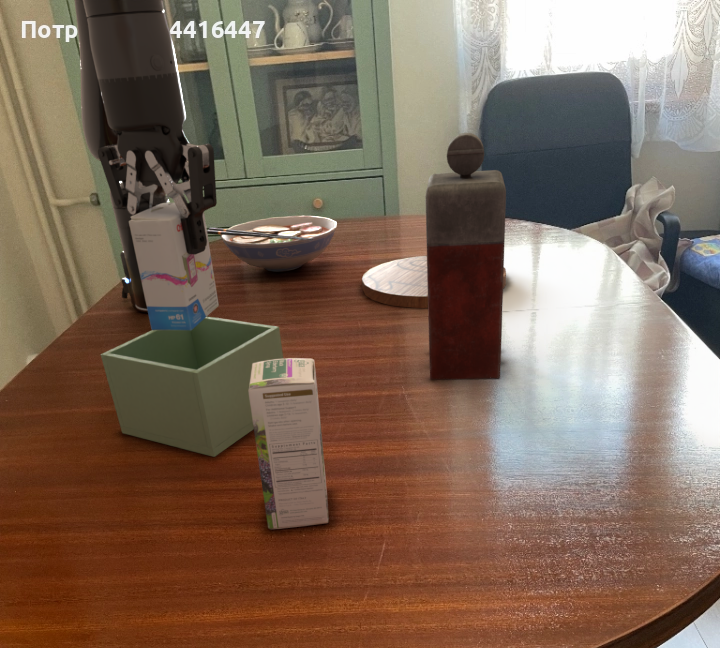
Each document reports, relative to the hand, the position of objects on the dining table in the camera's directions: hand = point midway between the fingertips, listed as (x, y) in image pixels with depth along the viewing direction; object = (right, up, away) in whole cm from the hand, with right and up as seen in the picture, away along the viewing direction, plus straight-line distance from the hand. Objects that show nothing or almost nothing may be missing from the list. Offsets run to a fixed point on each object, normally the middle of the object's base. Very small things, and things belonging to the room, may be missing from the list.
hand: (173, 250), depth 78 cm
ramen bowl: (+5, +18, +67) cm, 70 cm away
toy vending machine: (+34, -9, +20) cm, 40 cm away
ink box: (+1, -7, +4) cm, 8 cm away
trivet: (+33, +9, +50) cm, 60 cm away
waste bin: (+1, -17, +10) cm, 20 cm away
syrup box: (+14, -28, -8) cm, 32 cm away
